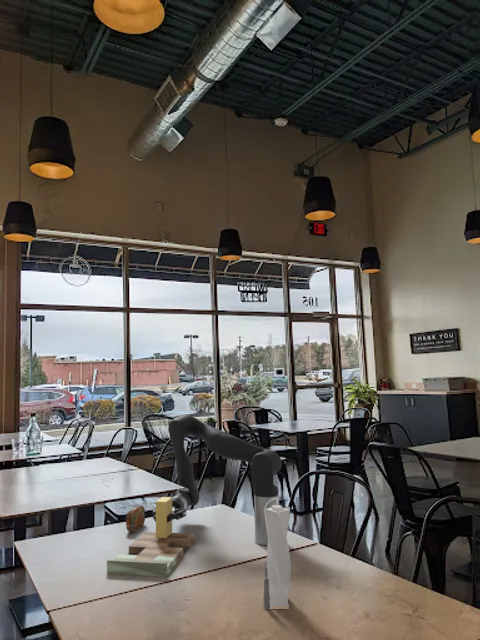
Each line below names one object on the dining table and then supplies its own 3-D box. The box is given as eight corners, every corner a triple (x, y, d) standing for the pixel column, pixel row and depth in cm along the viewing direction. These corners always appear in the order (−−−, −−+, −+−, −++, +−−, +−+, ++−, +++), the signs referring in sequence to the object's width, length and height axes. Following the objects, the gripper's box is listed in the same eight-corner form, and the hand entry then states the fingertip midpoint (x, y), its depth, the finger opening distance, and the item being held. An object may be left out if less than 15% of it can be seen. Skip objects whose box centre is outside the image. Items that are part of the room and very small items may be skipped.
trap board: (145, 538, 203) (145, 527, 203) (195, 540, 199) (195, 529, 200) (106, 573, 168) (106, 560, 169) (166, 576, 165) (166, 563, 165)
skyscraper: (263, 597, 149) (261, 496, 152) (291, 597, 149) (288, 496, 152) (263, 610, 141) (261, 504, 144) (293, 610, 141) (290, 504, 143)
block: (162, 531, 199) (162, 496, 200) (172, 532, 199) (172, 497, 200) (155, 537, 192) (155, 501, 194) (166, 538, 192) (166, 501, 193)
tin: (131, 534, 208) (131, 513, 209) (124, 534, 209) (124, 512, 210) (146, 523, 223) (145, 503, 224) (139, 523, 223) (139, 503, 224)
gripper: (192, 517, 208) (180, 530, 192) (158, 515, 211) (143, 528, 194) (192, 497, 209) (180, 509, 192) (158, 496, 212) (143, 508, 195)
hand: (161, 519), depth 193 cm, fingers closed on block, 4 cm apart
